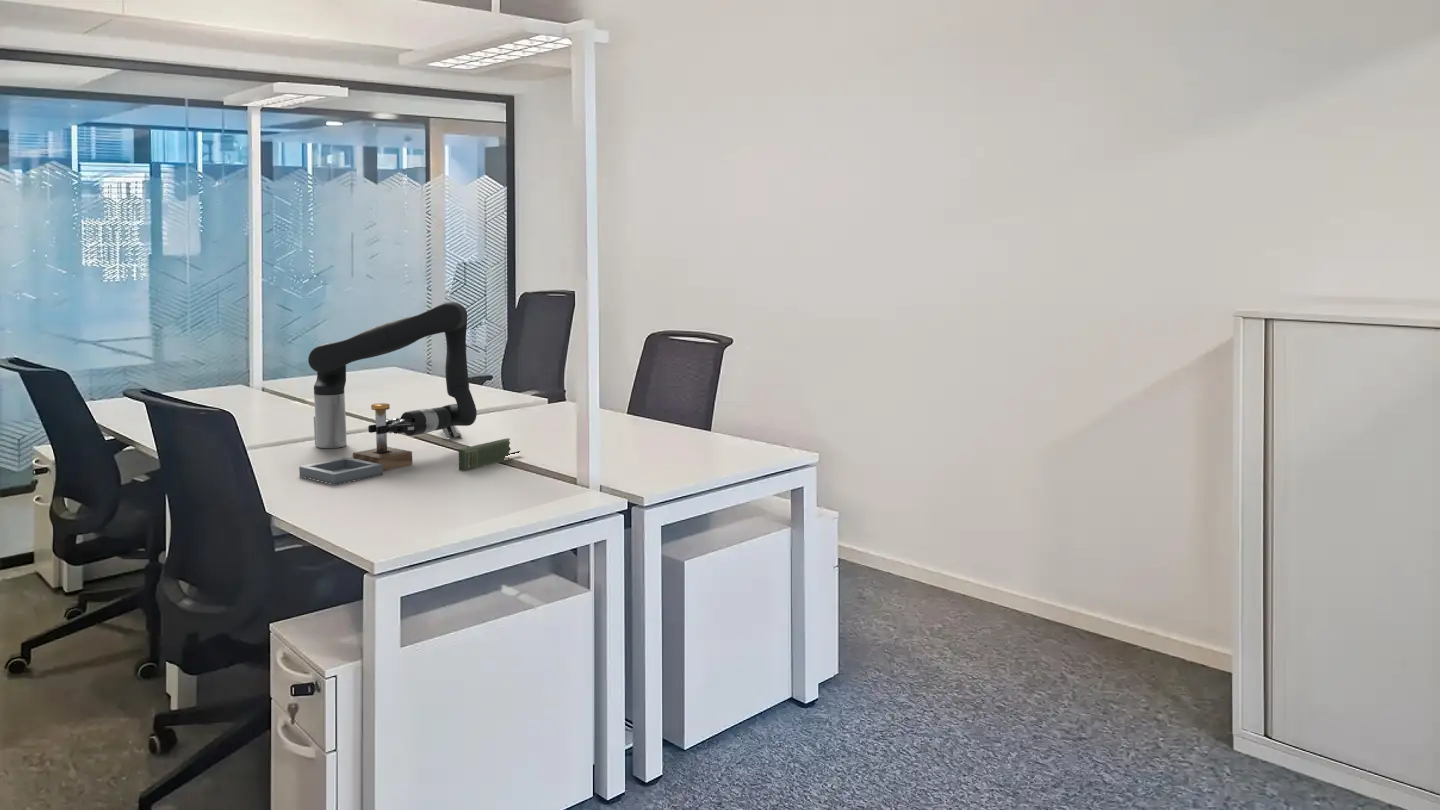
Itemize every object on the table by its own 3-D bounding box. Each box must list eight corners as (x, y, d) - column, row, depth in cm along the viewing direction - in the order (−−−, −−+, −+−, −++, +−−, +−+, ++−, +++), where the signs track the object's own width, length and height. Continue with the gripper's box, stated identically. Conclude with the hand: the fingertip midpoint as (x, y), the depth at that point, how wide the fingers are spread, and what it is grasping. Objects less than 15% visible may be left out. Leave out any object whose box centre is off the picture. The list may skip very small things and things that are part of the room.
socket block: (353, 465, 318) (352, 452, 318) (386, 459, 328) (386, 446, 327) (379, 471, 311) (378, 458, 311) (412, 464, 321) (412, 451, 321)
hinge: (462, 438, 361) (451, 411, 359) (449, 443, 360) (438, 416, 358) (457, 429, 377) (446, 403, 374) (444, 434, 376) (433, 408, 373)
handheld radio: (456, 470, 315) (515, 456, 336) (464, 472, 314) (523, 457, 335) (456, 448, 314) (515, 435, 335) (465, 450, 312) (523, 437, 333)
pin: (369, 461, 319) (367, 404, 316) (383, 458, 323) (381, 402, 320) (380, 464, 316) (378, 406, 313) (395, 461, 320) (393, 404, 317)
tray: (299, 476, 304) (299, 466, 303) (347, 467, 317) (347, 457, 316) (334, 485, 295) (334, 474, 294) (382, 474, 308) (382, 464, 307)
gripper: (404, 407, 333) (357, 414, 319) (434, 412, 325) (388, 420, 311) (405, 431, 334) (358, 439, 320) (435, 436, 326) (388, 445, 312)
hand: (373, 429), depth 316 cm, fingers closed on pin, 3 cm apart
